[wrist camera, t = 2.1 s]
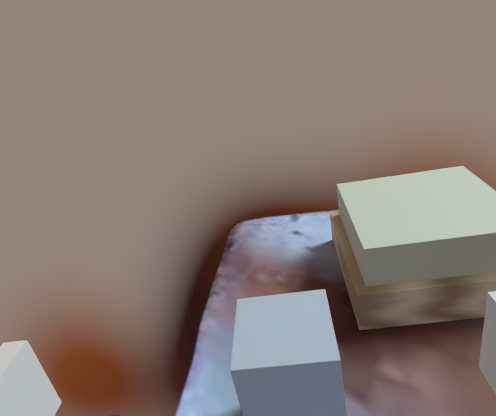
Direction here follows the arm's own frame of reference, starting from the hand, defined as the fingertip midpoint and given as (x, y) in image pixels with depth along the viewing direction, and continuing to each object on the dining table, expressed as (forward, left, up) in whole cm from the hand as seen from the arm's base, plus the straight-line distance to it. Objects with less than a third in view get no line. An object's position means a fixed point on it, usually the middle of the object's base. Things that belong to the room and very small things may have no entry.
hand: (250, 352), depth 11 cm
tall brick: (0, -10, -18) cm, 21 cm away
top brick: (-14, -27, -14) cm, 34 cm away
